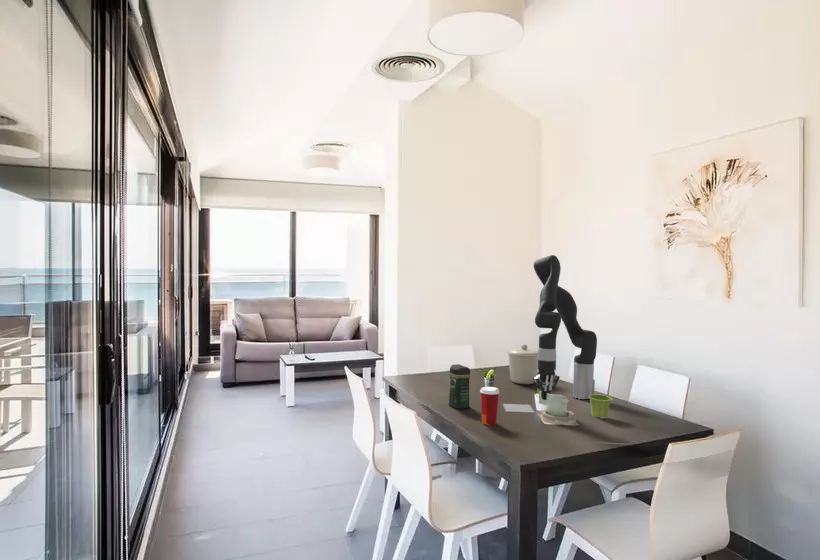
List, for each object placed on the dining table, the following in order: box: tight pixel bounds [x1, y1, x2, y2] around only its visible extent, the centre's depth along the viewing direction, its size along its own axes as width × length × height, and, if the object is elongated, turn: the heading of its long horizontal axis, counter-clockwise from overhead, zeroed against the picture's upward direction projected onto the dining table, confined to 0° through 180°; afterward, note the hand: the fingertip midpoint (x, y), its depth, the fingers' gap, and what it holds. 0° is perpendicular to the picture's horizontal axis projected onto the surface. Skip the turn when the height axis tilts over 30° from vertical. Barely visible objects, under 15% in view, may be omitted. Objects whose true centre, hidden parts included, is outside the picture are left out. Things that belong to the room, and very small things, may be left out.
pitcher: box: [538, 390, 569, 417], centre depth 209 cm, size 15×8×9 cm, turn 27°
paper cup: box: [479, 386, 500, 426], centre depth 200 cm, size 8×8×14 cm
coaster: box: [502, 403, 536, 414], centre depth 221 cm, size 12×12×1 cm
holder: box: [537, 408, 580, 426], centre depth 206 cm, size 14×14×3 cm
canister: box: [507, 343, 539, 385], centre depth 274 cm, size 18×18×21 cm
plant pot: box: [589, 394, 613, 418], centre depth 212 cm, size 9×9×9 cm
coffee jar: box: [448, 363, 471, 410], centre depth 224 cm, size 10×8×19 cm
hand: (545, 399), depth 212 cm, fingers closed on pitcher, 1 cm apart
